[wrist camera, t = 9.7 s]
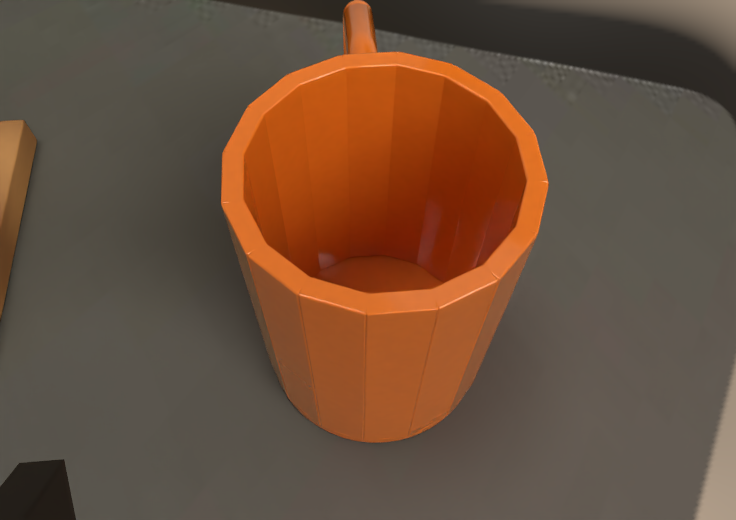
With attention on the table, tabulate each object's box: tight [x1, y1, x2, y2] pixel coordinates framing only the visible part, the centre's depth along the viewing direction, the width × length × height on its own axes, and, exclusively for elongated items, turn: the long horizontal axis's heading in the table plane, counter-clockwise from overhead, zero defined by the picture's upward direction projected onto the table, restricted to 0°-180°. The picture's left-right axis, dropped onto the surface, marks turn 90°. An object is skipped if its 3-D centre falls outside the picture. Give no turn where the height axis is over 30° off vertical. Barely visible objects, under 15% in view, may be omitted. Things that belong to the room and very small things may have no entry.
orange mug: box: [221, 0, 549, 443], centre depth 25 cm, size 14×9×12 cm, turn 5°
